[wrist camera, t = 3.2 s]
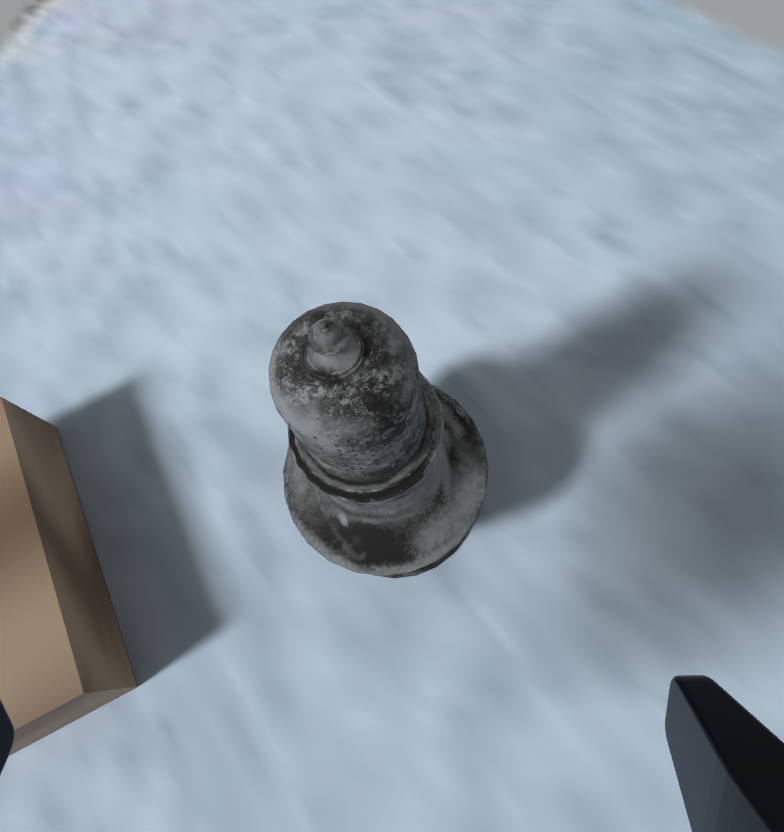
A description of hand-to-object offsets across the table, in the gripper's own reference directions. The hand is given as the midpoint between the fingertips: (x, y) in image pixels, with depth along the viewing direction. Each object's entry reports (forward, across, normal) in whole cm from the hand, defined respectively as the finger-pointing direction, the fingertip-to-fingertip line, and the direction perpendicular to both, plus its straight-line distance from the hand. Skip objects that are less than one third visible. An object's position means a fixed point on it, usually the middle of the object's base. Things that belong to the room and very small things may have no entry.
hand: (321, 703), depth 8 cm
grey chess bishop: (+12, 0, +5) cm, 13 cm away
